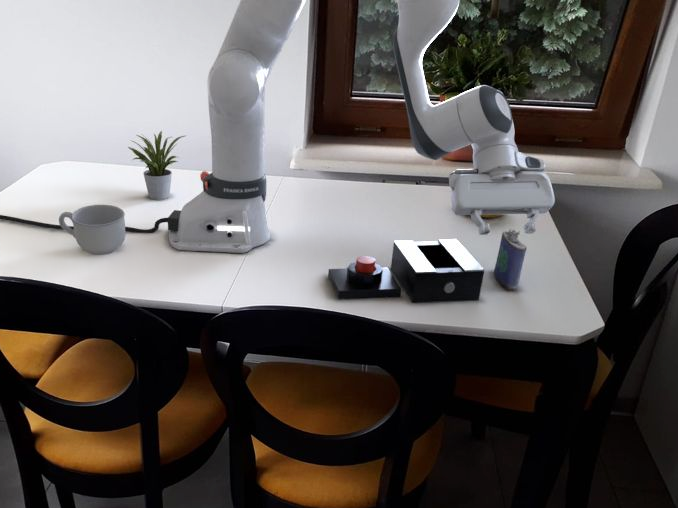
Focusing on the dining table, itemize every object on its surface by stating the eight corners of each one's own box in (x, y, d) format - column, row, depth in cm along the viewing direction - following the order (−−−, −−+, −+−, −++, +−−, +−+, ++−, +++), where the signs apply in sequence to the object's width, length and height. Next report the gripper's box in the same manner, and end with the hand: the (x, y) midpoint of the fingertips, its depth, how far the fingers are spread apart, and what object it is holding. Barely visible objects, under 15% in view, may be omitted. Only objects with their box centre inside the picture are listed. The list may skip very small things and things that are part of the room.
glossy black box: (413, 304, 130) (417, 273, 127) (390, 269, 144) (393, 240, 140) (487, 302, 132) (493, 271, 129) (458, 267, 145) (462, 238, 142)
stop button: (357, 274, 133) (358, 263, 132) (353, 266, 136) (354, 256, 135) (376, 273, 133) (377, 263, 132) (371, 265, 136) (372, 255, 135)
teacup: (136, 243, 153) (133, 208, 148) (110, 262, 144) (106, 225, 140) (80, 234, 156) (76, 199, 152) (52, 252, 147) (46, 215, 143)
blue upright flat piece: (519, 291, 136) (530, 239, 131) (504, 291, 136) (515, 239, 131) (503, 271, 144) (513, 221, 139) (489, 271, 144) (499, 221, 139)
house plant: (176, 183, 189) (173, 121, 181) (199, 198, 179) (197, 133, 171) (126, 191, 182) (120, 127, 174) (147, 207, 172) (142, 140, 164)
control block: (338, 299, 131) (339, 280, 129) (328, 277, 140) (329, 258, 138) (400, 297, 133) (402, 278, 131) (386, 275, 141) (388, 256, 139)
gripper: (453, 161, 137) (462, 227, 133) (552, 160, 139) (564, 225, 136) (442, 177, 143) (451, 240, 139) (537, 176, 145) (548, 238, 142)
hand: (507, 233), depth 138 cm, fingers open, 8 cm apart
